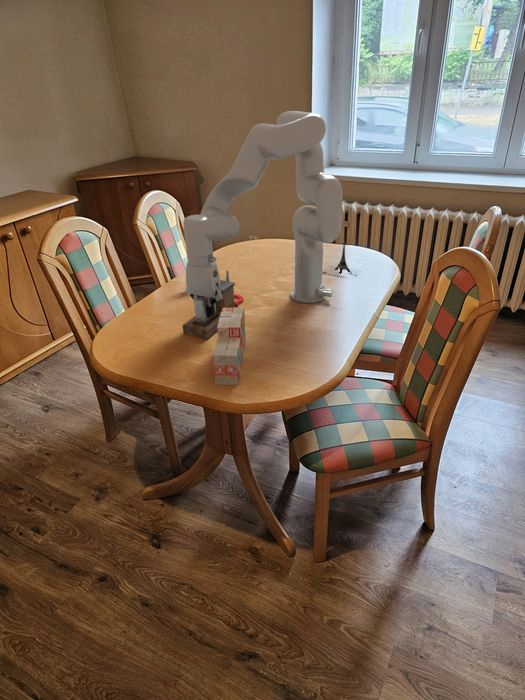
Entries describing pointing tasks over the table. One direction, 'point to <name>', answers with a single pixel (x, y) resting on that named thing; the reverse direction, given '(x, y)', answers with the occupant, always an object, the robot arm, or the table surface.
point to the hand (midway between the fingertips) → (206, 314)
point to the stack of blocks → (229, 346)
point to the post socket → (211, 328)
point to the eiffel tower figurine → (342, 261)
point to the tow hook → (235, 294)
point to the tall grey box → (203, 311)
